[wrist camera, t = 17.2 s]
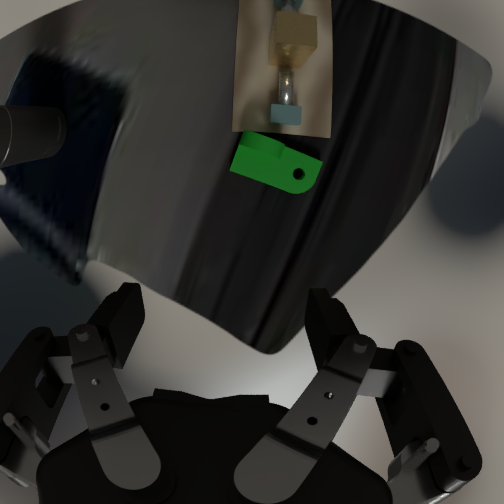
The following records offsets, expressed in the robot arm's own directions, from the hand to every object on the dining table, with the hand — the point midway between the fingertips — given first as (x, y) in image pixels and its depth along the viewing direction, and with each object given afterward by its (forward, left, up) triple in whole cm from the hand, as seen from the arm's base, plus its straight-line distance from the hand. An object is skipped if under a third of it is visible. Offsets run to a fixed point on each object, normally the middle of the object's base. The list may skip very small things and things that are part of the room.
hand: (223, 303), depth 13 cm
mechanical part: (+5, +4, -30) cm, 31 cm away
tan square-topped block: (+6, +21, -29) cm, 36 cm away
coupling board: (+6, +22, -30) cm, 37 cm away
